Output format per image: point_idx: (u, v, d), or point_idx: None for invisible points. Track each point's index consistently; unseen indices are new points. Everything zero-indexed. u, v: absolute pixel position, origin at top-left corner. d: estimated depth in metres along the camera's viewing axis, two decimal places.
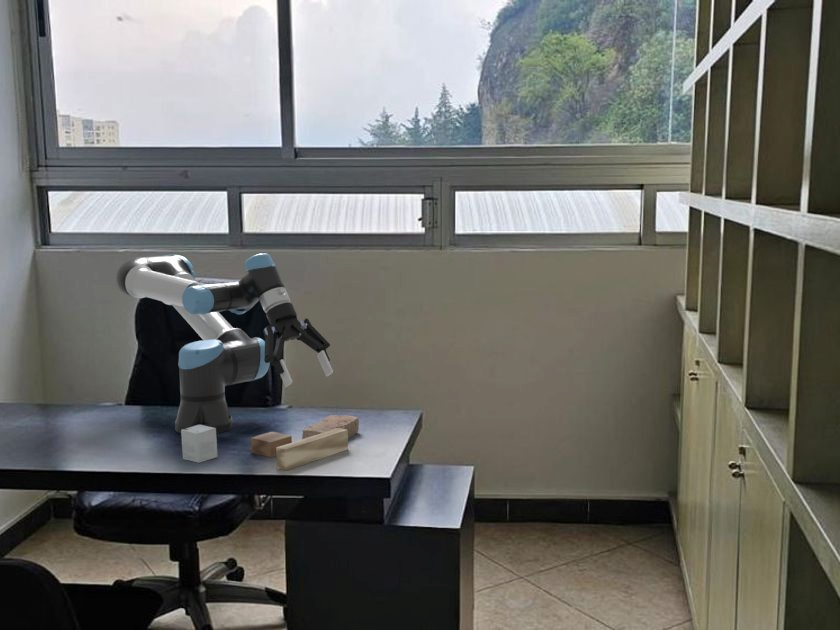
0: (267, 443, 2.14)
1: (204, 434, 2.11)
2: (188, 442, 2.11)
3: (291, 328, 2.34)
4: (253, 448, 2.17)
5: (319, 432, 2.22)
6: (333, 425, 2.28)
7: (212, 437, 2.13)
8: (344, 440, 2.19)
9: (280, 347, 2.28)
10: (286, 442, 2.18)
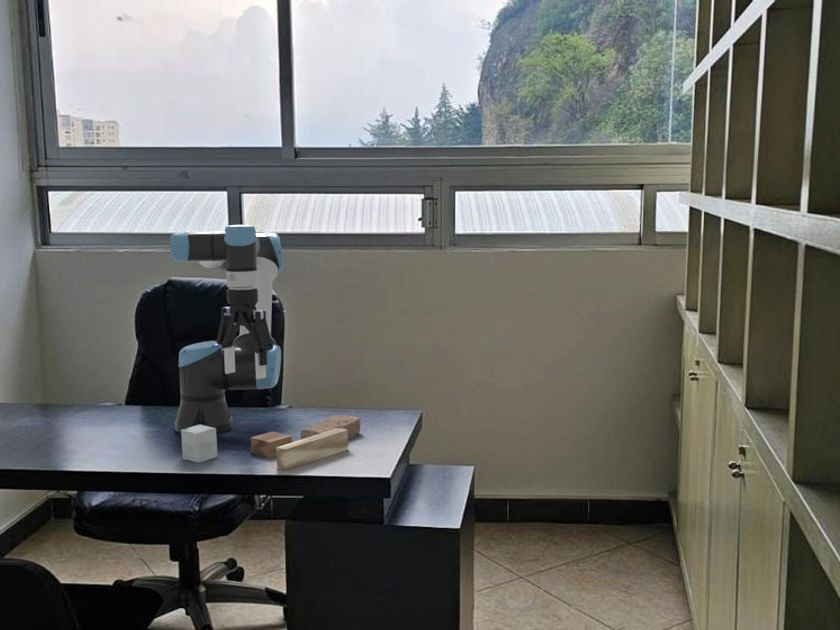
0: (267, 443, 2.14)
1: (204, 434, 2.11)
2: (188, 442, 2.11)
3: None
4: (253, 448, 2.18)
5: (316, 432, 2.22)
6: (333, 425, 2.28)
7: (212, 437, 2.13)
8: (344, 440, 2.19)
9: (227, 334, 2.22)
10: (286, 442, 2.18)
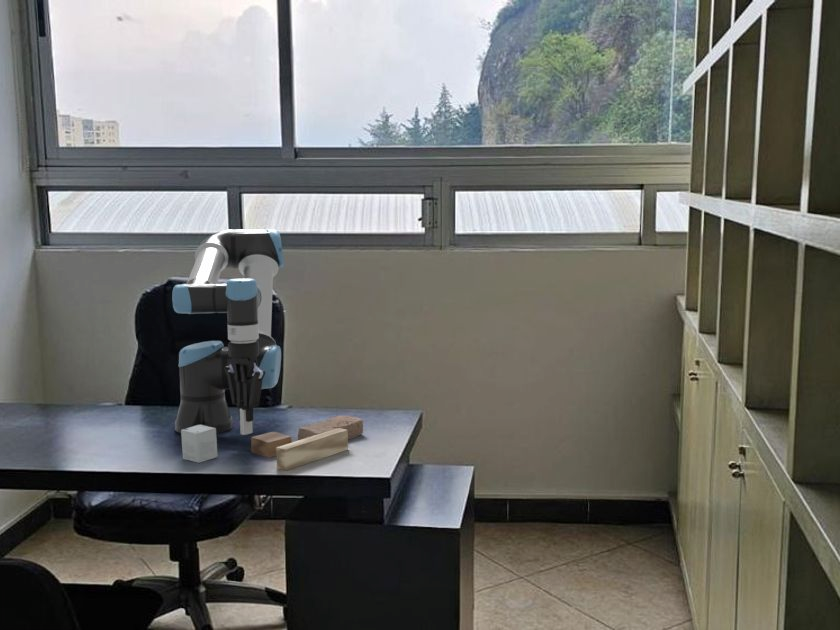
0: (266, 443, 2.14)
1: (204, 434, 2.11)
2: (188, 442, 2.11)
3: (241, 365, 2.20)
4: (253, 448, 2.18)
5: (311, 431, 2.23)
6: (331, 425, 2.28)
7: (212, 437, 2.13)
8: (344, 440, 2.19)
9: (238, 392, 2.22)
10: (285, 442, 2.17)
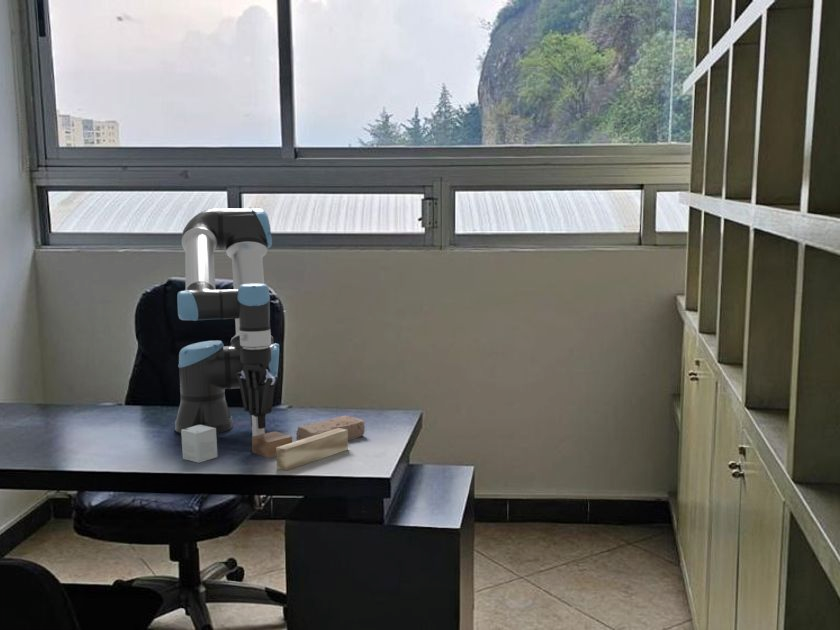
0: (266, 443, 2.14)
1: (204, 434, 2.11)
2: (188, 442, 2.11)
3: (253, 372, 2.18)
4: (254, 447, 2.18)
5: (307, 430, 2.23)
6: (331, 425, 2.28)
7: (212, 437, 2.13)
8: (344, 440, 2.19)
9: (250, 398, 2.19)
10: (286, 442, 2.17)
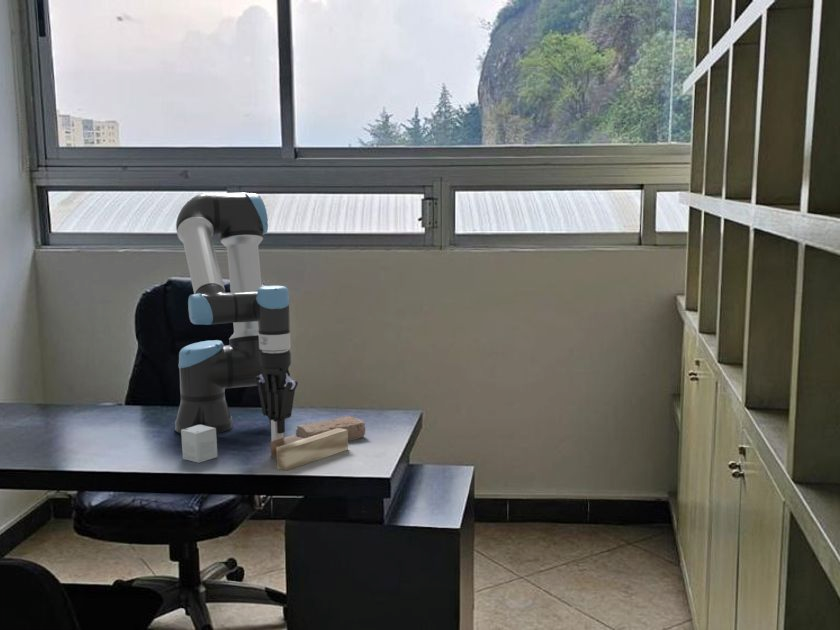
0: None
1: (204, 434, 2.11)
2: (188, 442, 2.11)
3: (272, 376, 2.14)
4: (273, 453, 2.14)
5: (304, 429, 2.24)
6: (330, 425, 2.28)
7: (212, 437, 2.13)
8: (344, 440, 2.19)
9: (269, 403, 2.15)
10: None
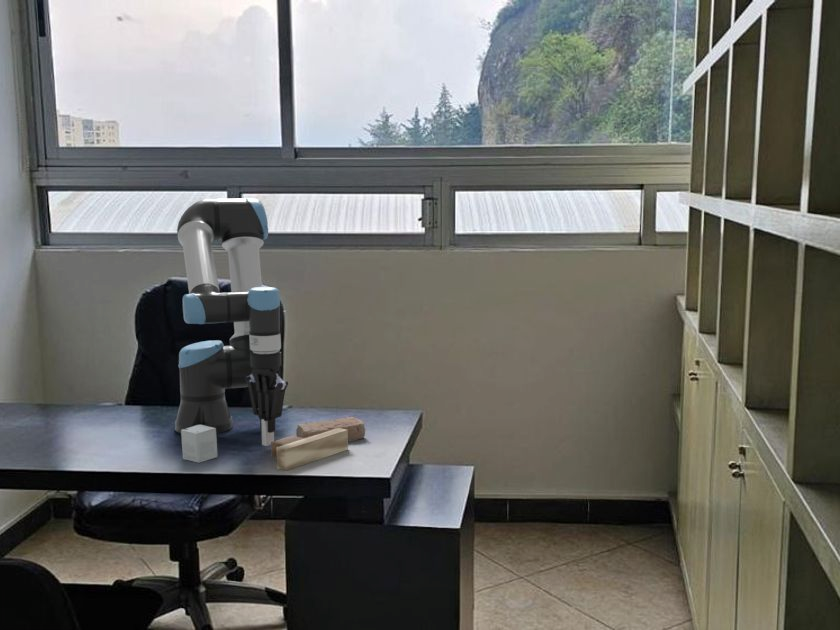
0: None
1: (204, 434, 2.11)
2: (188, 442, 2.11)
3: None
4: (274, 453, 2.14)
5: (302, 429, 2.25)
6: (329, 425, 2.28)
7: (212, 437, 2.13)
8: (344, 440, 2.19)
9: (259, 402, 2.18)
10: None
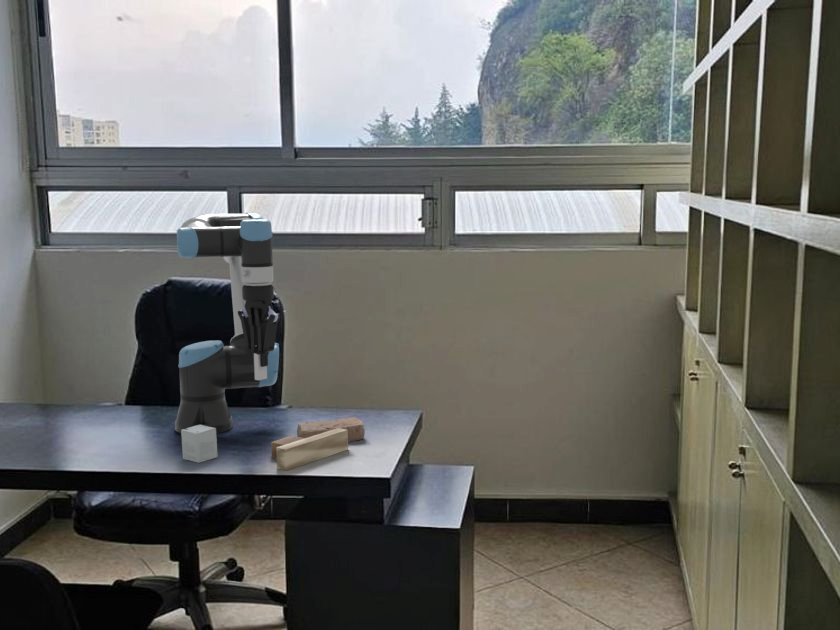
0: None
1: (204, 434, 2.11)
2: (188, 442, 2.11)
3: (255, 309, 2.15)
4: (274, 453, 2.13)
5: (301, 428, 2.26)
6: (328, 425, 2.28)
7: (212, 437, 2.13)
8: (344, 440, 2.19)
9: (252, 336, 2.17)
10: None
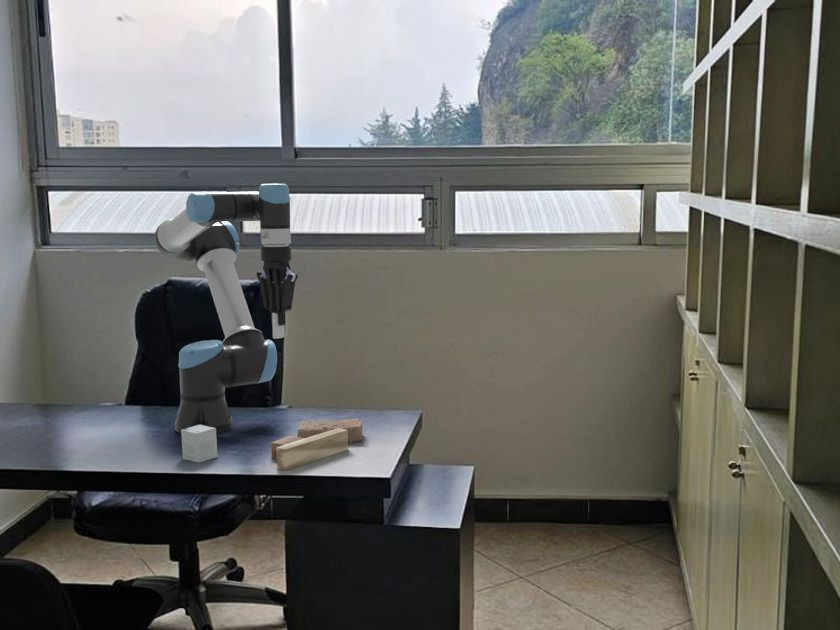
0: None
1: (204, 434, 2.11)
2: (188, 442, 2.11)
3: (274, 270, 2.24)
4: (274, 453, 2.13)
5: None
6: (327, 425, 2.28)
7: (212, 437, 2.13)
8: (344, 440, 2.19)
9: (270, 296, 2.26)
10: None
